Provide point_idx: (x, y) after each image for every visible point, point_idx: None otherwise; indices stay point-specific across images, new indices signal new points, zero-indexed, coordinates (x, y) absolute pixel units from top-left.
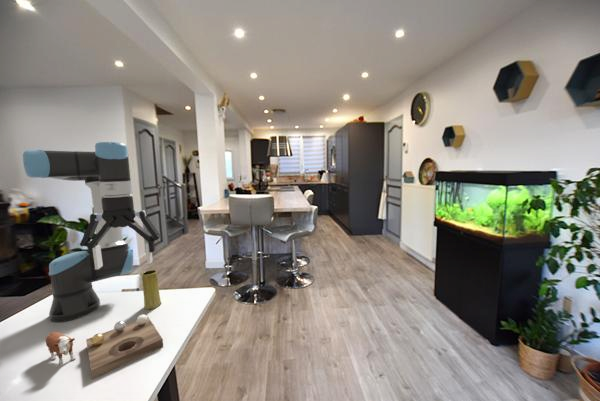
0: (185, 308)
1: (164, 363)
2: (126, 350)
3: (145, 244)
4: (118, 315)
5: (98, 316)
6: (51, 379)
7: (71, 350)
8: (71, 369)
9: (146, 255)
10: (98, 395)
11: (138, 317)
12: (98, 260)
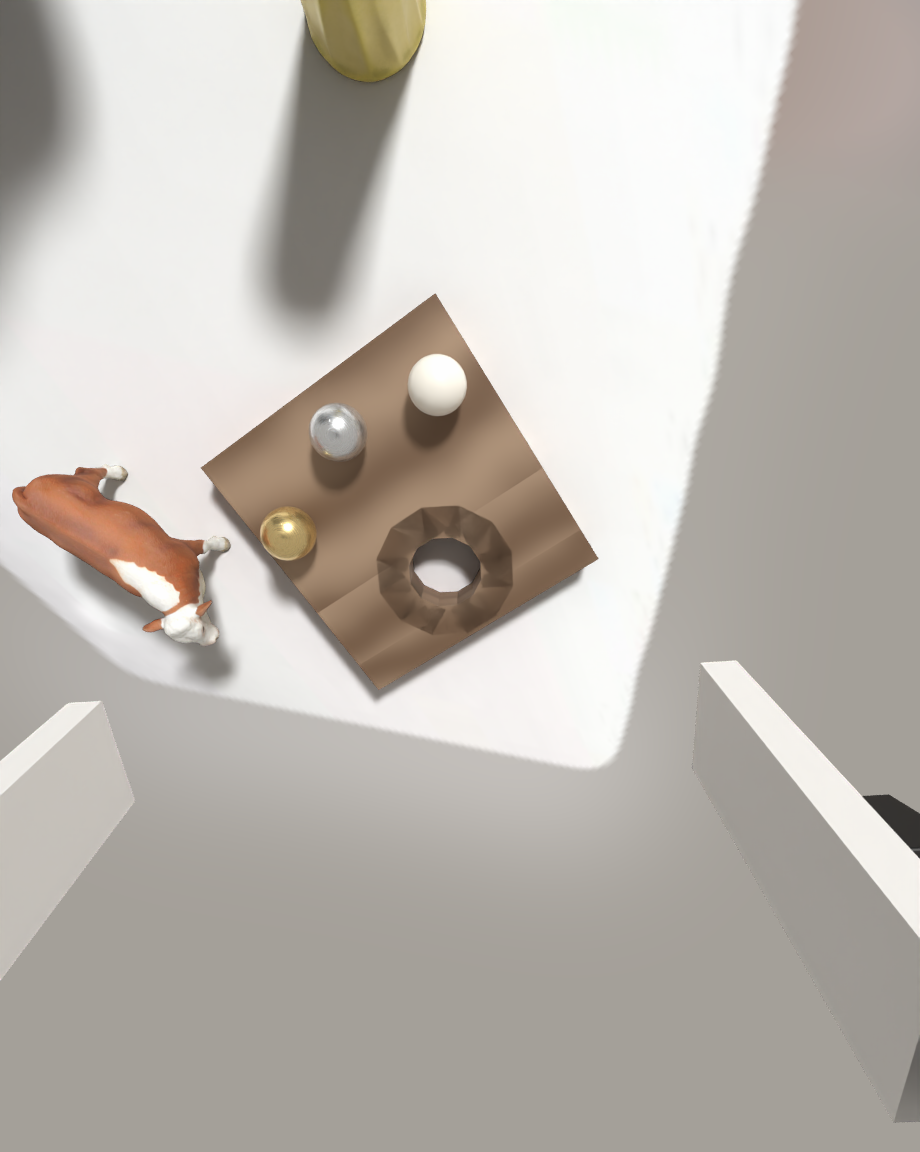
0: (634, 147)
1: (623, 653)
2: (459, 604)
3: (880, 1088)
4: (175, 123)
5: (31, 96)
6: (227, 638)
7: (200, 553)
8: (263, 602)
9: (749, 864)
10: (449, 742)
11: (423, 399)
12: (56, 859)
